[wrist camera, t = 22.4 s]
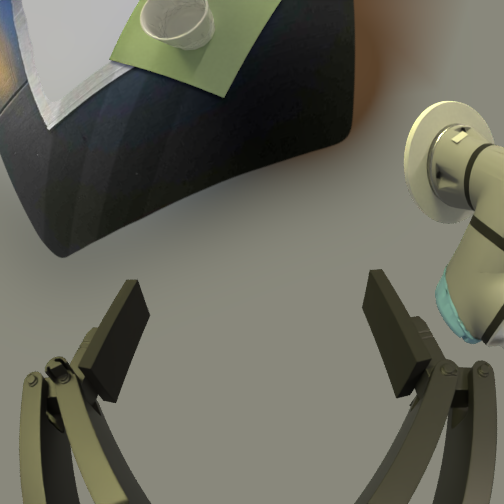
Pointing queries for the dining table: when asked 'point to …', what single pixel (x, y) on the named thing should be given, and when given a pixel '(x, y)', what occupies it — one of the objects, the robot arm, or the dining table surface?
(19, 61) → the dining table surface
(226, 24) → the placemat
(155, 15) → the white cup
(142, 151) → the dining table surface
